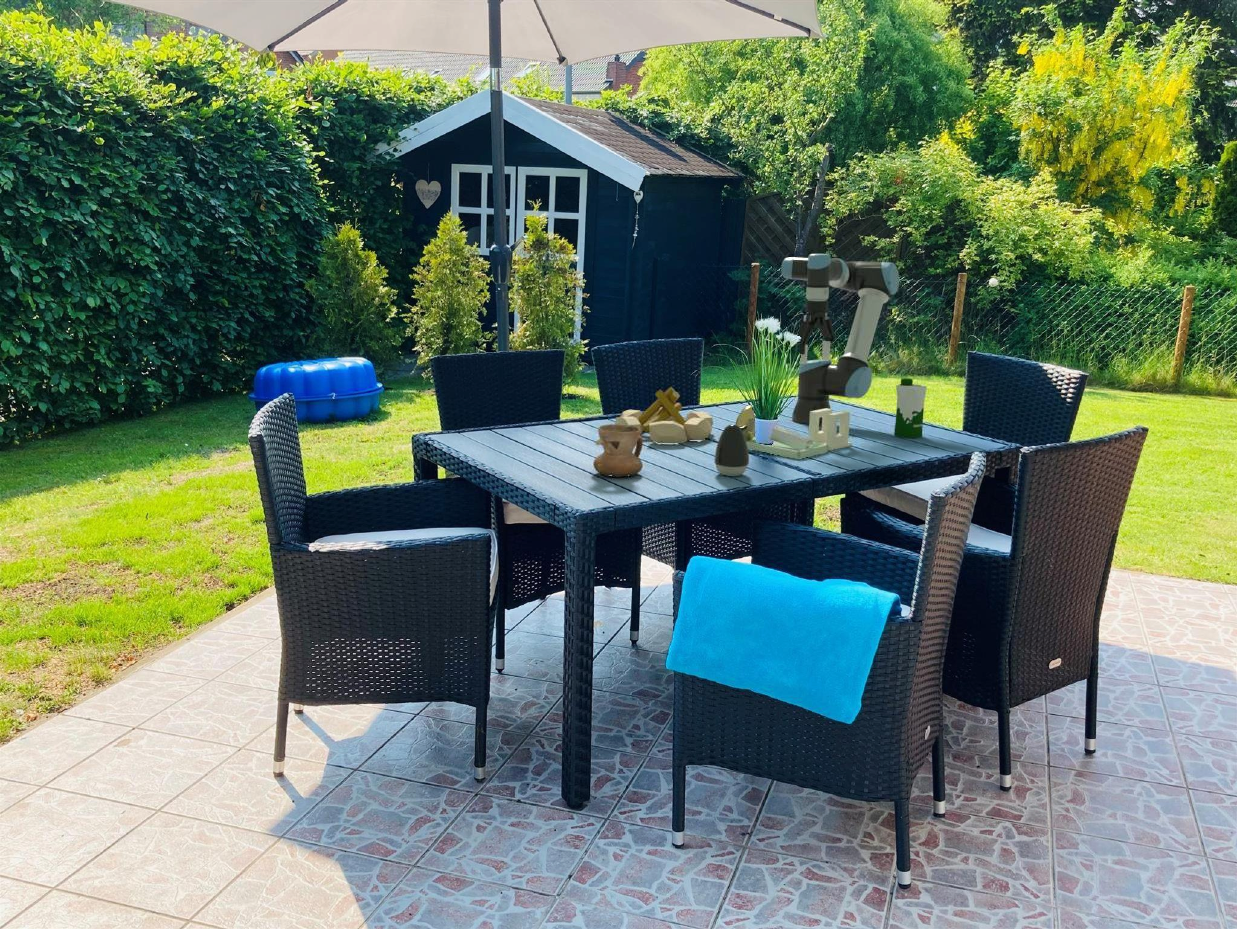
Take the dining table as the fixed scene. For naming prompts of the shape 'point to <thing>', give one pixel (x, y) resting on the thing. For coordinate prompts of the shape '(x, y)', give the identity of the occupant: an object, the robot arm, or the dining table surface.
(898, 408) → the milk carton
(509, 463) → the dining table surface
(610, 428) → the ceramic jug
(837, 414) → the double loop bracket
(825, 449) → the tray
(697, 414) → the campfire
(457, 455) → the dining table surface
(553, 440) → the dining table surface
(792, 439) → the gold disc post
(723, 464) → the pump dispenser
